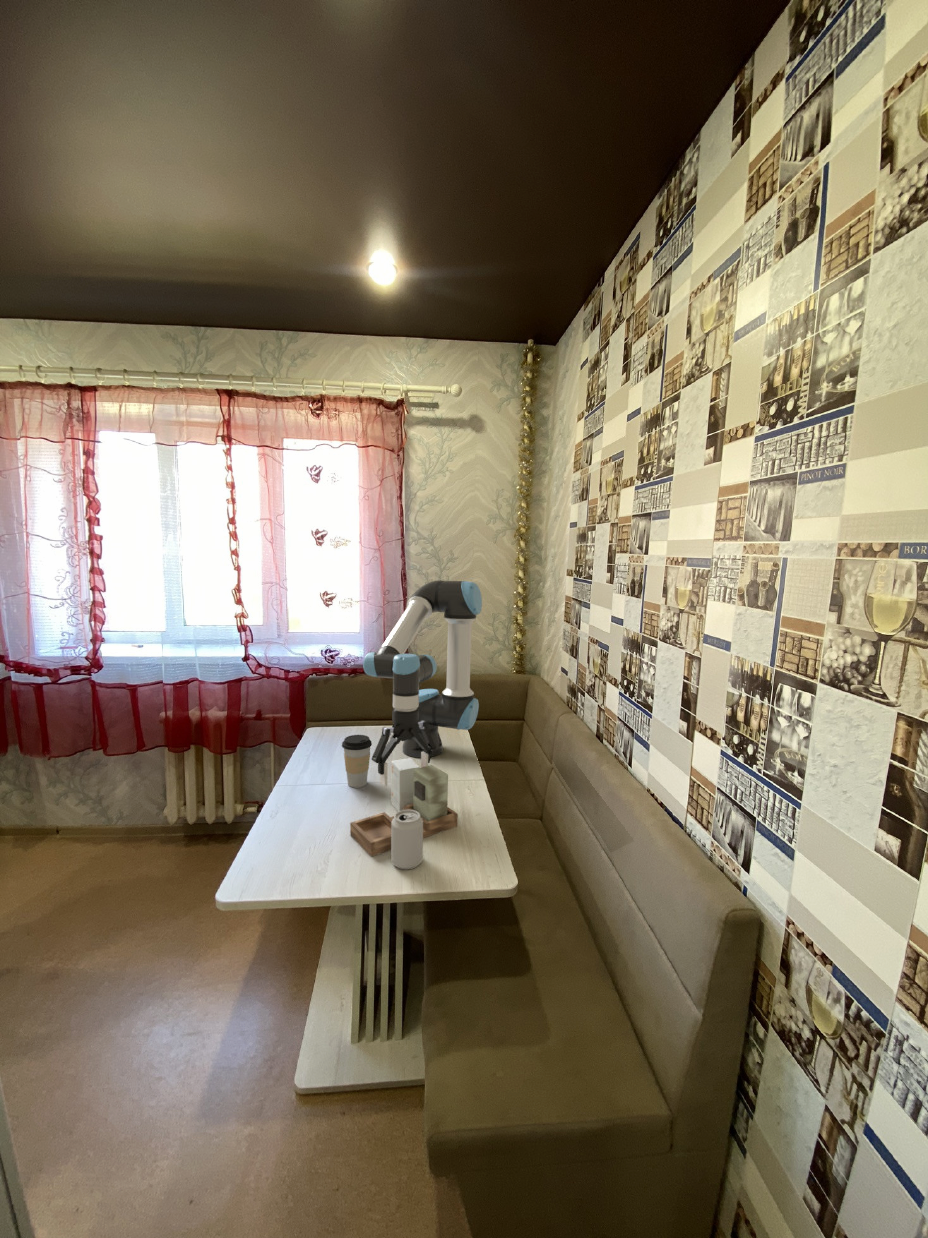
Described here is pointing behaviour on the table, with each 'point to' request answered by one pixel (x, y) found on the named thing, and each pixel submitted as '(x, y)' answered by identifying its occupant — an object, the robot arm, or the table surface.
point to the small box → (402, 782)
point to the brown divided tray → (426, 801)
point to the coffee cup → (357, 759)
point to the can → (407, 839)
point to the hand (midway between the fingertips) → (404, 779)
